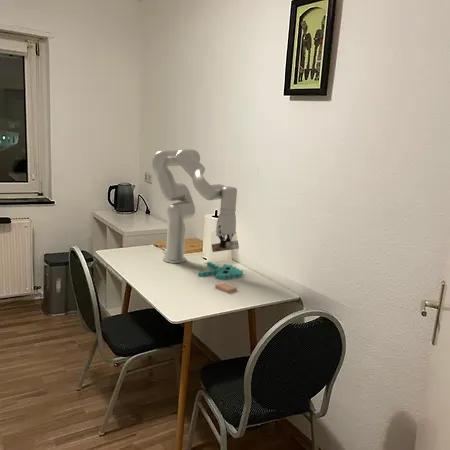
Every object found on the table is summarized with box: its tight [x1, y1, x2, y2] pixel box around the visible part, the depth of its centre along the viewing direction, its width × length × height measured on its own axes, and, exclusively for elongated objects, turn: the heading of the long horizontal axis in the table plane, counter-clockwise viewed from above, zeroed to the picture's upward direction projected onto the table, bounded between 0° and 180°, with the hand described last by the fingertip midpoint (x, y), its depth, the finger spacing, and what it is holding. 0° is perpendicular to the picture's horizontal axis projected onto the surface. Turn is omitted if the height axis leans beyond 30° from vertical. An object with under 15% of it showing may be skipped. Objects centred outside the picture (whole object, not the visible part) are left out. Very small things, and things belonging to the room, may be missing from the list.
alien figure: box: [198, 261, 244, 281], centre depth 233 cm, size 20×2×20 cm
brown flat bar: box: [211, 240, 240, 253], centre depth 230 cm, size 16×3×4 cm, turn 46°
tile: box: [214, 282, 238, 294], centre depth 209 cm, size 2×6×8 cm
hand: (225, 247), depth 230 cm, fingers closed on brown flat bar, 3 cm apart
